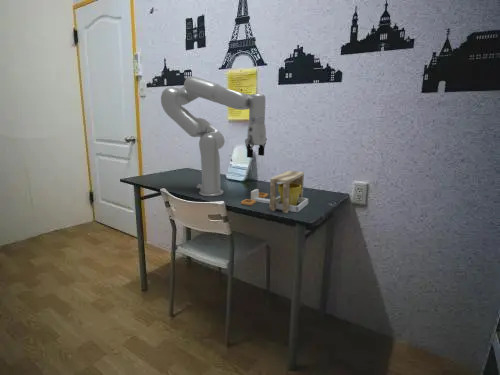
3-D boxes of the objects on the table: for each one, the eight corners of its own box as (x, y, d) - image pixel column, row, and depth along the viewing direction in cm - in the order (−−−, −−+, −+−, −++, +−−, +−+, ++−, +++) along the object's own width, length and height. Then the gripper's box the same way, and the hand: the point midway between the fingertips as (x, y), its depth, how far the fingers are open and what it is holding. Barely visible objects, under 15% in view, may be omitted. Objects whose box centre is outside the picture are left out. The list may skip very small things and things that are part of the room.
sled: (246, 203, 140) (246, 193, 139) (260, 196, 153) (260, 187, 151) (297, 212, 128) (298, 201, 127) (308, 203, 141) (308, 193, 140)
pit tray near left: (254, 197, 151) (254, 194, 150) (259, 195, 155) (259, 192, 155) (263, 198, 149) (263, 195, 148) (268, 196, 153) (268, 193, 152)
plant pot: (284, 201, 145) (285, 181, 142) (304, 204, 139) (305, 184, 137) (273, 206, 137) (274, 185, 134) (293, 210, 131) (294, 189, 128)
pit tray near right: (241, 204, 139) (241, 201, 139) (246, 201, 143) (246, 198, 143) (250, 206, 137) (250, 203, 136) (255, 203, 141) (255, 200, 140)
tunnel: (269, 210, 131) (270, 178, 128) (287, 198, 149) (288, 170, 145) (286, 213, 128) (288, 180, 124) (302, 200, 145) (303, 172, 142)
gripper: (252, 121, 134) (251, 159, 139) (272, 121, 148) (271, 155, 152) (239, 120, 139) (238, 157, 143) (260, 120, 152) (259, 153, 157)
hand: (255, 156), depth 148 cm, fingers open, 9 cm apart
